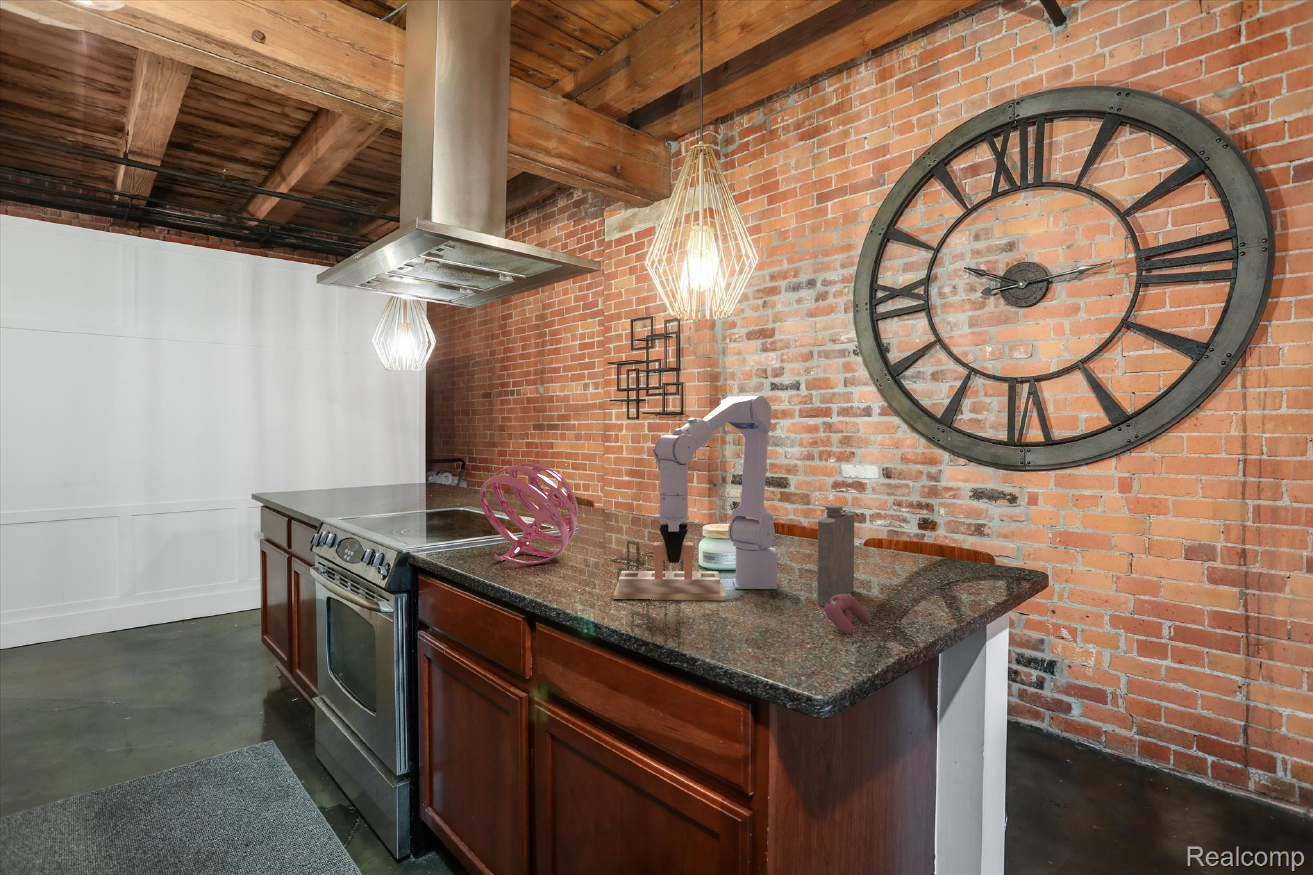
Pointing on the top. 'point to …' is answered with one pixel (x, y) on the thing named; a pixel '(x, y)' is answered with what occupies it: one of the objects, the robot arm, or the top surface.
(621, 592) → the cream wooden flat frame
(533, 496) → the spiral basket
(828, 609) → the video game controller
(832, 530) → the hip flask
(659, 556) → the clip
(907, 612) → the top surface
